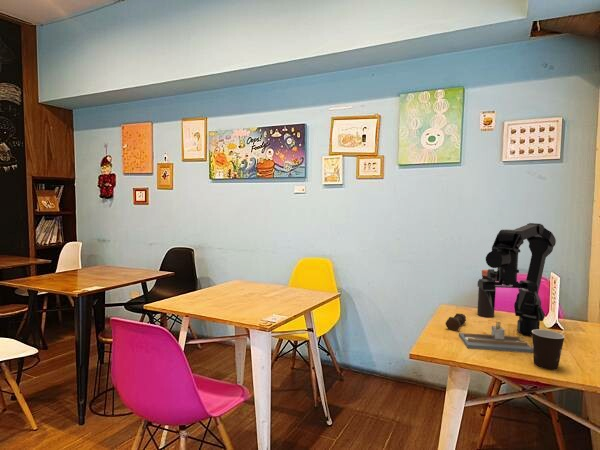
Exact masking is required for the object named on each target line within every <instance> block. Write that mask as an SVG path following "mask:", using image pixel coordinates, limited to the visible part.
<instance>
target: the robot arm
mask: <svg viewBox="0 0 600 450" xmlns="http://www.w3.org/2000/svg"><path fill="white" fill-rule="evenodd" d="M524 241H527V242H528V248H529V250H530V253H531V256H530V260H529V265H528V271H527V275H526V279H524V280H523V279H522V280H519V281H518V274H520V269H518V266H519V265H518V263H519V253H521V249H520V247H521V246H522V245H523V244H524ZM556 243H557V239H556V237H555V235H554V234H553V232H552V231H550V230H549V229H547V228H546V227H545V226H544V225H543V224H542V223H534V222H529V223H526V225H523V226H520V227H518V228H517V227H516V228H515V229H506V228H505V229H500V231H499V232H498V233H497V234H496V237H495V240H494V241H493V243H492V246H491V251H489V252H488V253H486V256H485V262H486V264H487V266H488V267H489V268H492V269H487V270H488V272H487V276H488V278H493V281H492V280H490V279H482V278H479V279H478V281H477V287H478V288H479V287H480V288H481V289H482V290H484V291H485V292H486V293H487V296H488V298H489V301H490V304H491V308H492V309H494V306H496V291H494V290H493V289H494V288H495V287H496V288H502V289H503V288H511V289H517V290H518V293H516V299H515V302H514V304H513V305H514V314H515V316H516V317H518V320H517V322H516V323H517V326H516V327H517V328H516V331H517V332H518V333H520V334H521V336H525V337H526V336H527V337H528V336H530V337H532V330H536V329H540V326H541V325H540V322H544V320H545V316H546V315H545V312H544V309H543V308H542V300H541V298H540V295H539V291H540V287H541V282H542V277H543V273H544V267H545V264H546V259H547V257H549V256H550V255H551V254H552V252H553V251H554V247H556ZM495 269H497V270H495ZM494 310H495V309H494Z"/></svg>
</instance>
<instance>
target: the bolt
mask: <svg viewBox="0 0 600 450" xmlns="http://www.w3.org/2000/svg"><path fill="white" fill-rule="evenodd" d="M466 321H467V317H466V315H465V314H463V313H455V315H454V316H449V317H448V318H447V320H446V321H445V326H446V328H447V330H448V331H451V332H458V331H459V330H460V328H461V327H462V326H463V325H464V324H465V323H466Z"/></svg>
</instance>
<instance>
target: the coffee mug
mask: <svg viewBox="0 0 600 450" xmlns="http://www.w3.org/2000/svg"><path fill="white" fill-rule="evenodd" d="M531 338H532V339H531V340H532V341H531V342H532V348H533V353H532V355H533V364H534V366H535V367H538V368H540V369H544V370H549V371H555V370H558V369H559V366H560V359H561V356H562V352H563V346H564V341H565V335H564V334H562V333H560V332H559V331H558V332H557V331H554V330H550V329H541V328H539V329H536V330H532V336H531Z"/></svg>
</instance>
